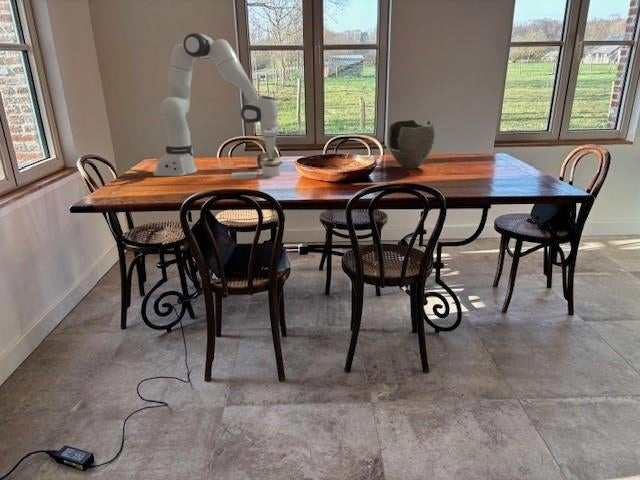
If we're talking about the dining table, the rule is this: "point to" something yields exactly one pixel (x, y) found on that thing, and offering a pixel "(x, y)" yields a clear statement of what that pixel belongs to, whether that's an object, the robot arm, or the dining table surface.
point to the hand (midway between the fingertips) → (270, 157)
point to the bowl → (271, 170)
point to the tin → (264, 155)
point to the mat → (244, 175)
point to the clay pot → (410, 142)
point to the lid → (270, 161)
